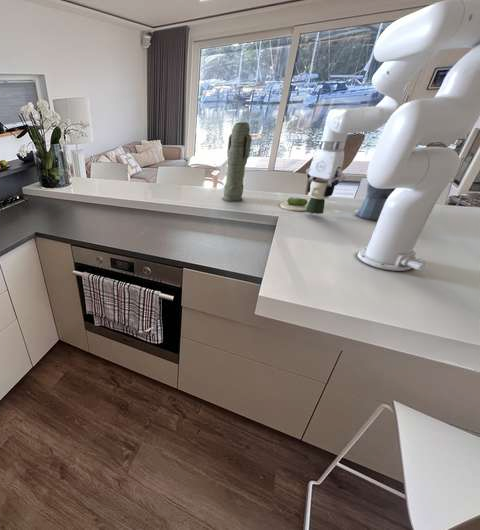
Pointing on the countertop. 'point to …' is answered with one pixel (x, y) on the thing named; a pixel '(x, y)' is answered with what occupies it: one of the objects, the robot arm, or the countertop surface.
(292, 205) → the plate
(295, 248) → the countertop surface
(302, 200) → the pickle
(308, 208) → the character mug
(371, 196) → the moka pot
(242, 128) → the green cactus figure
